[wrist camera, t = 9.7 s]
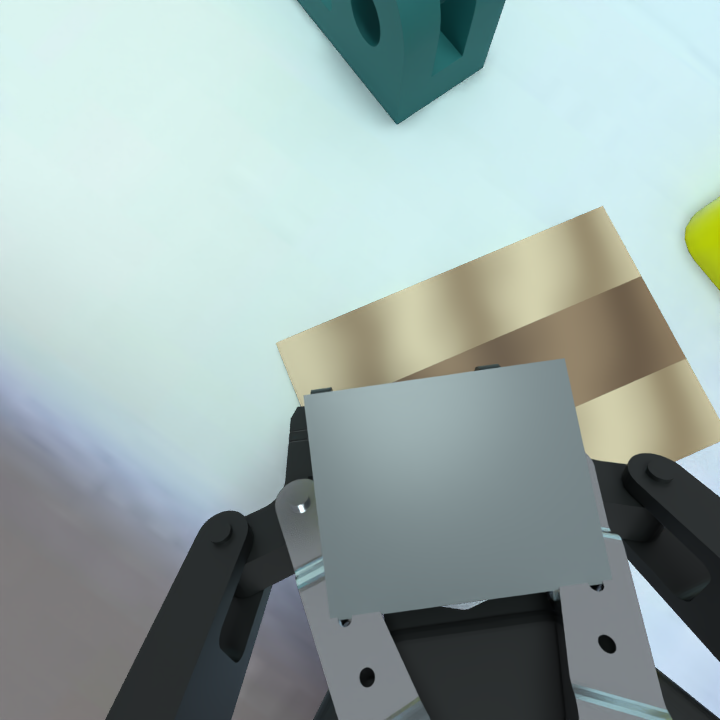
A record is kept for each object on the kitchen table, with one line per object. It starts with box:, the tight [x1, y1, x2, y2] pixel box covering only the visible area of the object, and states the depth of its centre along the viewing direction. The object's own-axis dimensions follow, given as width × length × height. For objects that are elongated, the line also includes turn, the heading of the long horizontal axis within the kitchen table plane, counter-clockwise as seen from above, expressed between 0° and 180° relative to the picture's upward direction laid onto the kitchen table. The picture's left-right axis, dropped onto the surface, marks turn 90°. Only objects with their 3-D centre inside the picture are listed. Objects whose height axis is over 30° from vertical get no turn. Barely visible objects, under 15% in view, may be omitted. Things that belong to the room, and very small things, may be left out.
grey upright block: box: [303, 358, 612, 620], centre depth 12 cm, size 5×4×11 cm
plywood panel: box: [276, 206, 720, 464], centre depth 21 cm, size 20×14×1 cm
